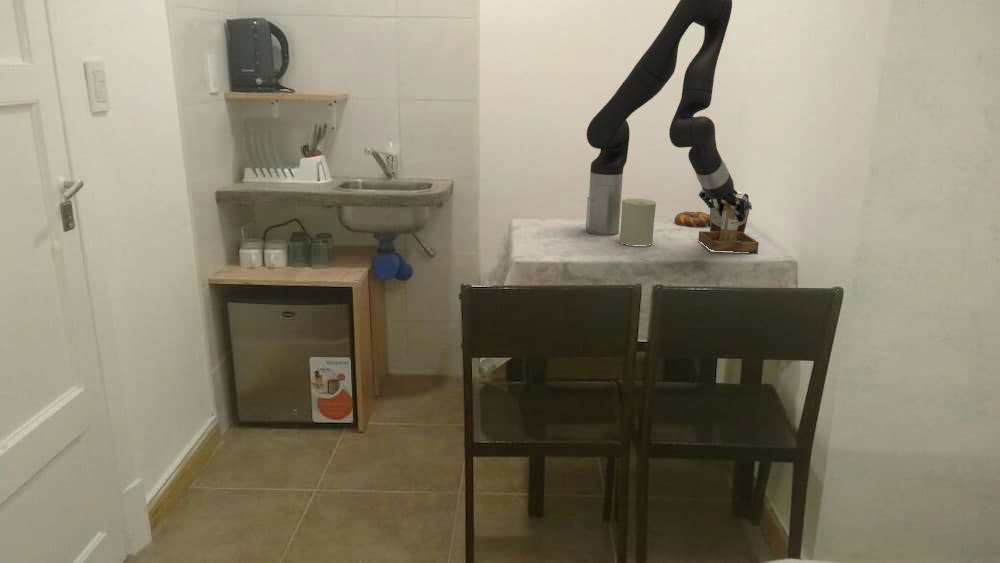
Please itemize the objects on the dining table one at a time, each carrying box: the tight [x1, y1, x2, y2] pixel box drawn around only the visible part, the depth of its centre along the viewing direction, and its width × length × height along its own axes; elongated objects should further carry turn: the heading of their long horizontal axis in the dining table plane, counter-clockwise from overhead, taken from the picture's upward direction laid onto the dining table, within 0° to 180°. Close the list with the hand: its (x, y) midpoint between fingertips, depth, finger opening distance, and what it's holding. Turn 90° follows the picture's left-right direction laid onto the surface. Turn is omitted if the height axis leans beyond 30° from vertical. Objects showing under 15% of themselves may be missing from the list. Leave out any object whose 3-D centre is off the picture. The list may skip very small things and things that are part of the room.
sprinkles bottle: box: [719, 190, 743, 242], centre depth 195 cm, size 5×5×13 cm
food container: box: [707, 199, 753, 233], centre depth 213 cm, size 12×6×10 cm, turn 84°
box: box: [698, 230, 760, 254], centre depth 198 cm, size 12×12×3 cm
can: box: [618, 198, 657, 245], centre depth 199 cm, size 9×9×12 cm
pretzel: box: [674, 211, 710, 228], centre depth 226 cm, size 12×11×4 cm
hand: (733, 217), depth 197 cm, fingers closed on sprinkles bottle, 4 cm apart
